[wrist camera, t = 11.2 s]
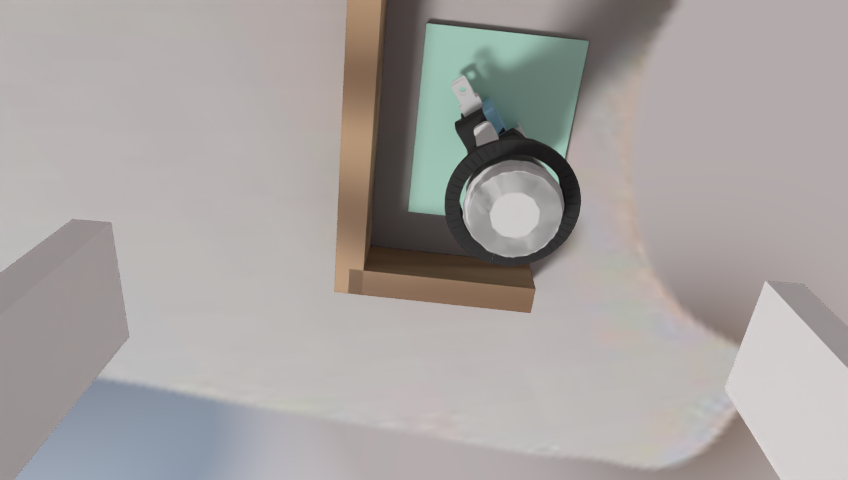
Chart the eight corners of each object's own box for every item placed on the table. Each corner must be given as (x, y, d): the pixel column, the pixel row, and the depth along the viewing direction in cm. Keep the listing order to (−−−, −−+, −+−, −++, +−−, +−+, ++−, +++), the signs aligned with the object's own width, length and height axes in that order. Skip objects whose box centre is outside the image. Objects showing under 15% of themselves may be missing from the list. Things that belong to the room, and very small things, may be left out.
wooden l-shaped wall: (368, -236, 26) (358, -259, 23) (621, -207, 26) (641, -226, 23) (342, 266, 36) (334, 291, 33) (524, 285, 36) (530, 312, 33)
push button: (413, 102, 32) (399, 162, 22) (505, 47, 30) (529, 87, 21) (476, 206, 34) (486, 298, 25) (564, 159, 32) (609, 238, 23)
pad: (426, 22, 30) (426, 23, 30) (588, 40, 30) (588, 41, 30) (408, 210, 34) (408, 211, 34) (549, 225, 34) (550, 227, 34)
